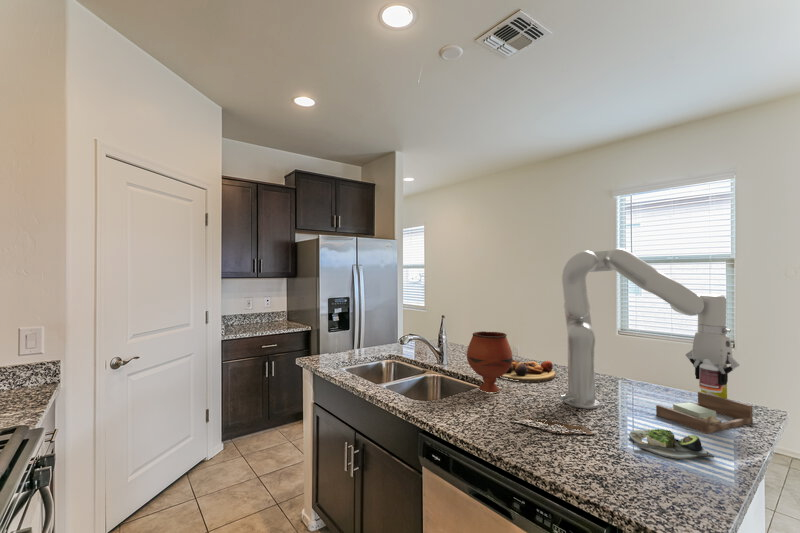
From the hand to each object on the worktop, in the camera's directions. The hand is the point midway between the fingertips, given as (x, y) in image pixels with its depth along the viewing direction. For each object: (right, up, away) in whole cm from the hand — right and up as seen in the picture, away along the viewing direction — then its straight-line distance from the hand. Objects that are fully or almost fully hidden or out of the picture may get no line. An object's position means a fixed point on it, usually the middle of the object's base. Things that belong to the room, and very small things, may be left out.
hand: (710, 381), depth 126 cm
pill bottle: (0, -3, 0) cm, 3 cm away
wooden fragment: (-58, -14, -6) cm, 60 cm away
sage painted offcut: (-9, -9, -4) cm, 14 cm away
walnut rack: (-5, -14, -2) cm, 15 cm away
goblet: (-70, -14, +31) cm, 77 cm away
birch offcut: (-9, -12, -4) cm, 16 cm away
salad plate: (-29, -14, -19) cm, 37 cm away
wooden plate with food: (-46, -15, +59) cm, 76 cm away
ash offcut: (-9, -11, -4) cm, 15 cm away
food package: (+12, -14, +12) cm, 22 cm away
